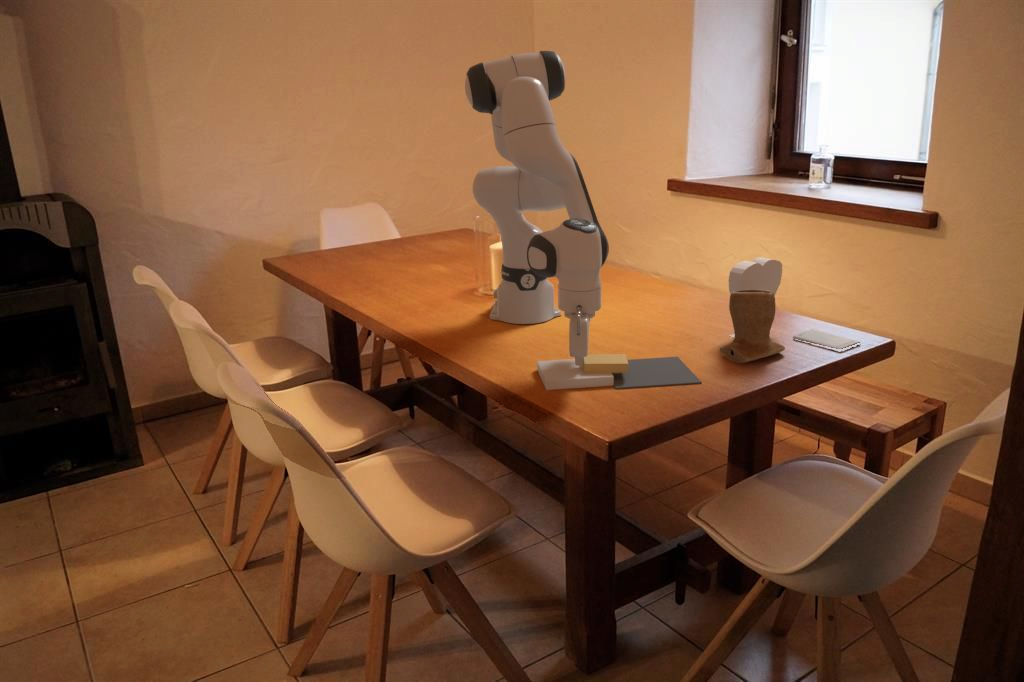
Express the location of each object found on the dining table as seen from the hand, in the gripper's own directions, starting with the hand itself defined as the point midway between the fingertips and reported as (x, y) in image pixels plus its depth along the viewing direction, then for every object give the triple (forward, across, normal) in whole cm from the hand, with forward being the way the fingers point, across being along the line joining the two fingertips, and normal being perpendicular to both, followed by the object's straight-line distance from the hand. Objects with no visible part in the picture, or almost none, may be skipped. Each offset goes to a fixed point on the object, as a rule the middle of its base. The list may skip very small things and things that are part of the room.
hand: (579, 363), depth 176 cm
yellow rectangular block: (+1, +1, -5) cm, 6 cm away
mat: (+3, +3, -14) cm, 15 cm away
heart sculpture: (+3, +32, -41) cm, 52 cm away
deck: (+3, 0, +1) cm, 3 cm away
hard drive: (+4, +26, -57) cm, 62 cm away
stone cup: (+3, +16, -37) cm, 41 cm away
